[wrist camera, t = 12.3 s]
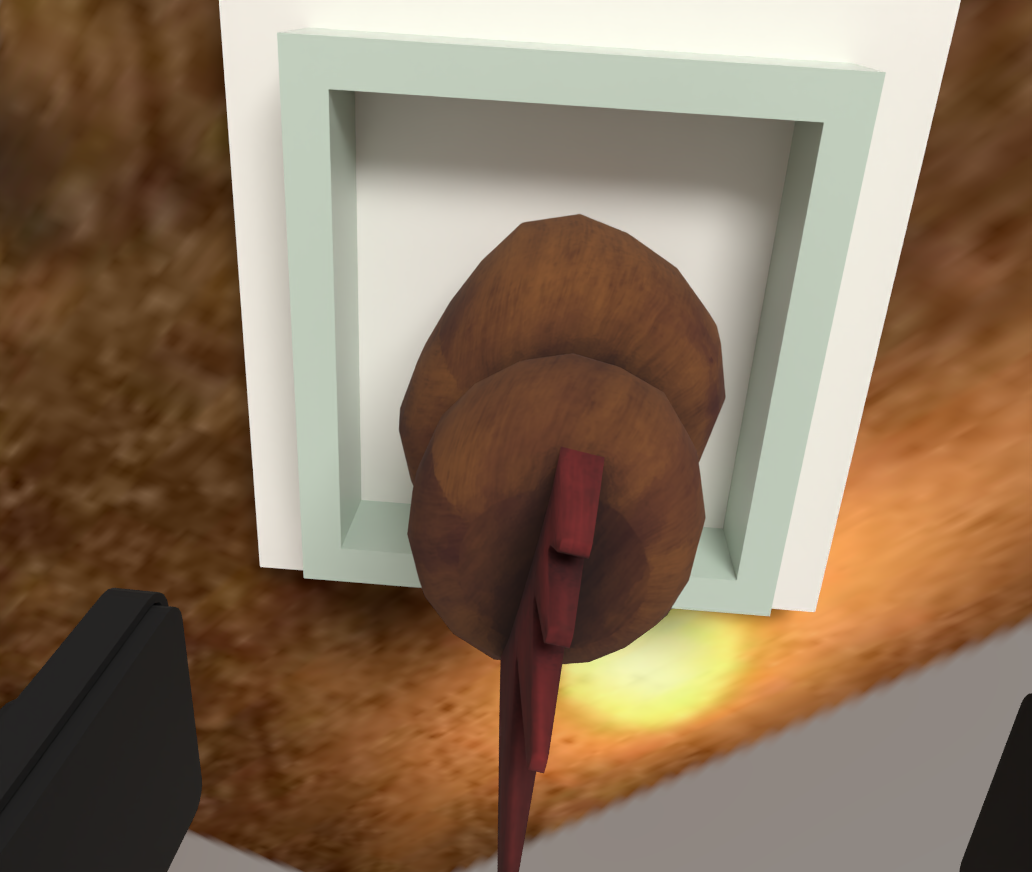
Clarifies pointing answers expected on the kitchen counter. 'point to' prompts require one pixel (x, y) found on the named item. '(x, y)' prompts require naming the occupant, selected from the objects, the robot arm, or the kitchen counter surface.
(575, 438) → the wooden figurine
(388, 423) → the ceramic stand
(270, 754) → the kitchen counter surface
